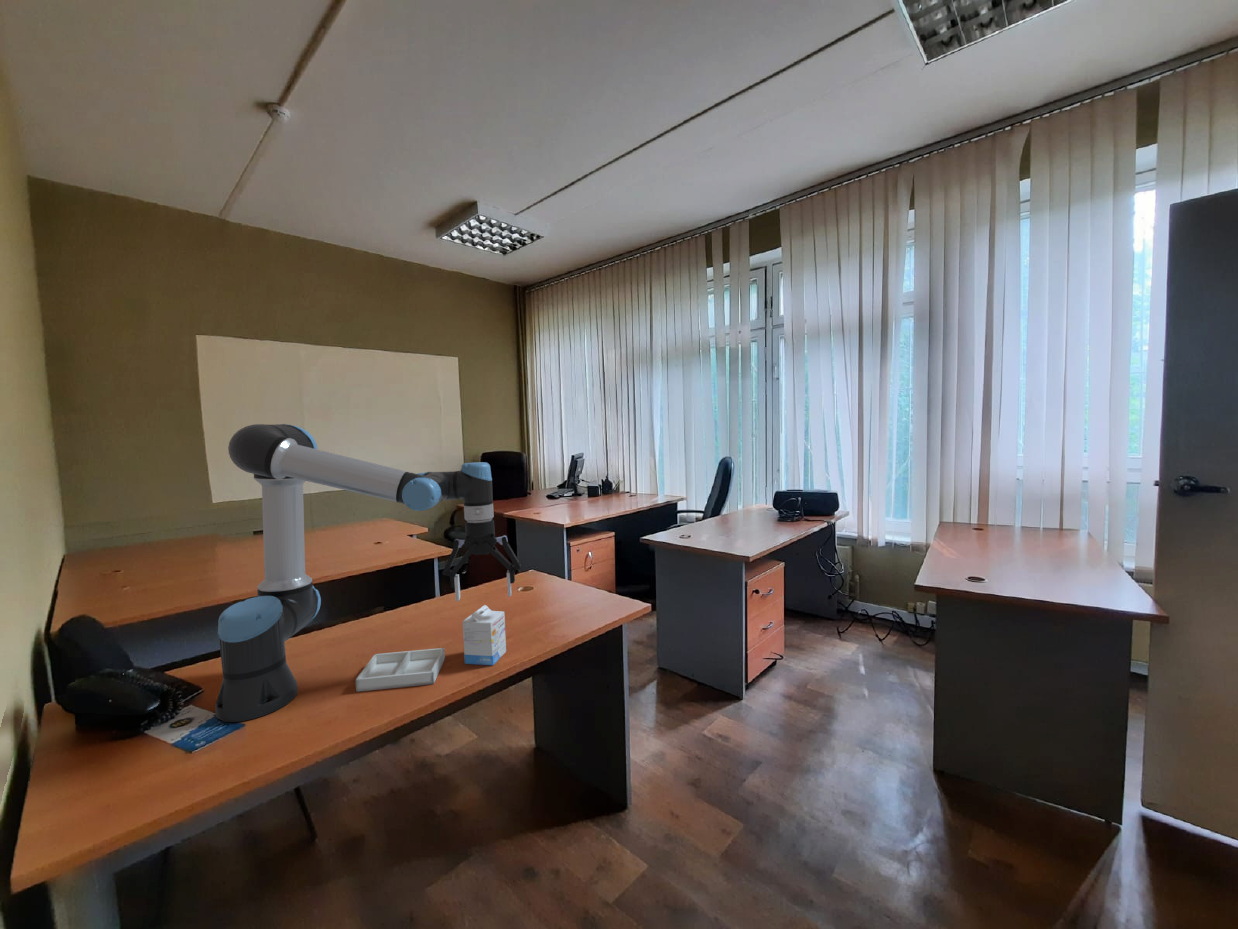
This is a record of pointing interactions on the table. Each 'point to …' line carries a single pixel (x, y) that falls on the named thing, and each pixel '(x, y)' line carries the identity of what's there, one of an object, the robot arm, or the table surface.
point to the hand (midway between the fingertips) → (484, 597)
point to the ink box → (484, 636)
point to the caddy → (401, 669)
